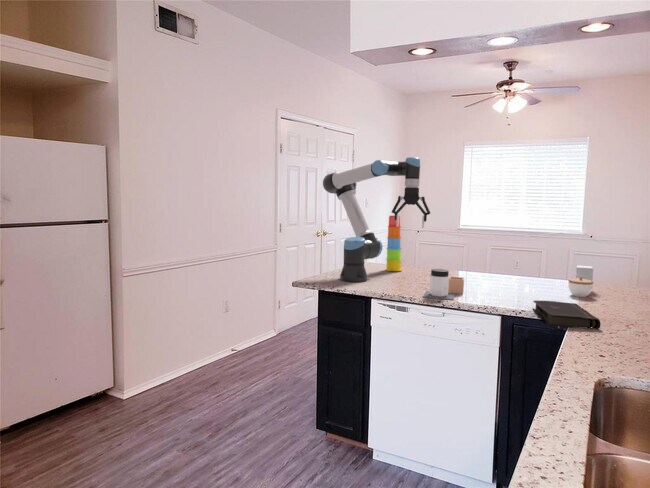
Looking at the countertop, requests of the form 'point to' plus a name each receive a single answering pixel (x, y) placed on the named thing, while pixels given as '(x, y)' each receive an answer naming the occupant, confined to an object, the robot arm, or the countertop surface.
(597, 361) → the countertop surface
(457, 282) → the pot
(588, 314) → the diary
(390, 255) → the stacking cups
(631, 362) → the countertop surface
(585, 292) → the lidded jar
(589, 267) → the supplement box
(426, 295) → the mat
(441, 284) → the jar
